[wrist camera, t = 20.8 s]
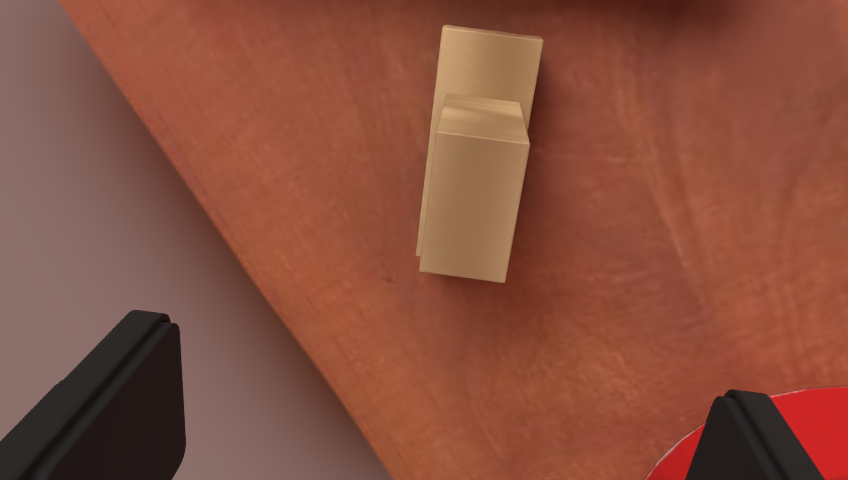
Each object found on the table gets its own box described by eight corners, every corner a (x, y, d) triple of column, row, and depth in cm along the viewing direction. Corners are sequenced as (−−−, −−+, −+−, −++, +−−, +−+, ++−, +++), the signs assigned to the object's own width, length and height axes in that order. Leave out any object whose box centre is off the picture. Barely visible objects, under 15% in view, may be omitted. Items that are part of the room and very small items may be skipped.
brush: (420, 235, 31) (397, 331, 23) (445, 21, 27) (428, 46, 19) (501, 246, 31) (507, 347, 23) (538, 33, 27) (562, 63, 19)
